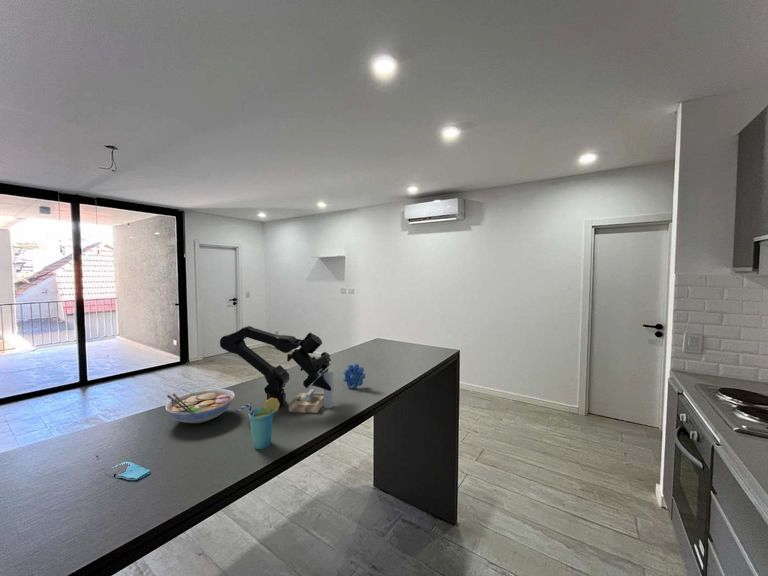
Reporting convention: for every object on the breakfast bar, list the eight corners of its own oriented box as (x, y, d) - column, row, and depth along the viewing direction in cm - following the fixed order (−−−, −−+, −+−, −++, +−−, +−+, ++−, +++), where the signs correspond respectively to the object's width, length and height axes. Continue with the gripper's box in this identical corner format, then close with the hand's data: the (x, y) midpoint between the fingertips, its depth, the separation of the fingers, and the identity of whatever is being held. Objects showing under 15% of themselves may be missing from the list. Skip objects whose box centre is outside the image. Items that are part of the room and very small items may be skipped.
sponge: (127, 483, 83) (151, 468, 88) (103, 471, 88) (127, 458, 93) (128, 489, 83) (152, 473, 88) (104, 476, 88) (128, 463, 93)
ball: (309, 399, 129) (305, 408, 130) (312, 395, 133) (309, 404, 134) (299, 395, 130) (296, 404, 130) (303, 392, 134) (300, 400, 134)
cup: (246, 461, 94) (244, 410, 93) (231, 452, 98) (230, 404, 97) (285, 440, 105) (284, 395, 104) (270, 433, 109) (269, 390, 109)
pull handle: (306, 408, 129) (305, 374, 128) (311, 402, 135) (310, 370, 134) (330, 409, 128) (329, 375, 127) (334, 403, 134) (334, 370, 133)
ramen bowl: (247, 418, 121) (246, 397, 120) (177, 442, 104) (175, 418, 104) (221, 401, 138) (220, 382, 137) (157, 419, 121) (156, 397, 121)
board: (288, 411, 126) (288, 404, 126) (299, 399, 138) (299, 392, 138) (316, 412, 125) (316, 405, 125) (325, 400, 137) (325, 393, 137)
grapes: (369, 387, 153) (369, 362, 152) (362, 392, 146) (362, 366, 146) (348, 383, 157) (347, 359, 157) (340, 388, 151) (340, 363, 151)
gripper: (310, 353, 121) (339, 383, 120) (325, 342, 139) (350, 368, 139) (290, 373, 122) (319, 403, 121) (307, 360, 141) (333, 385, 140)
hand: (331, 388), depth 130 cm, fingers closed on pull handle, 3 cm apart
